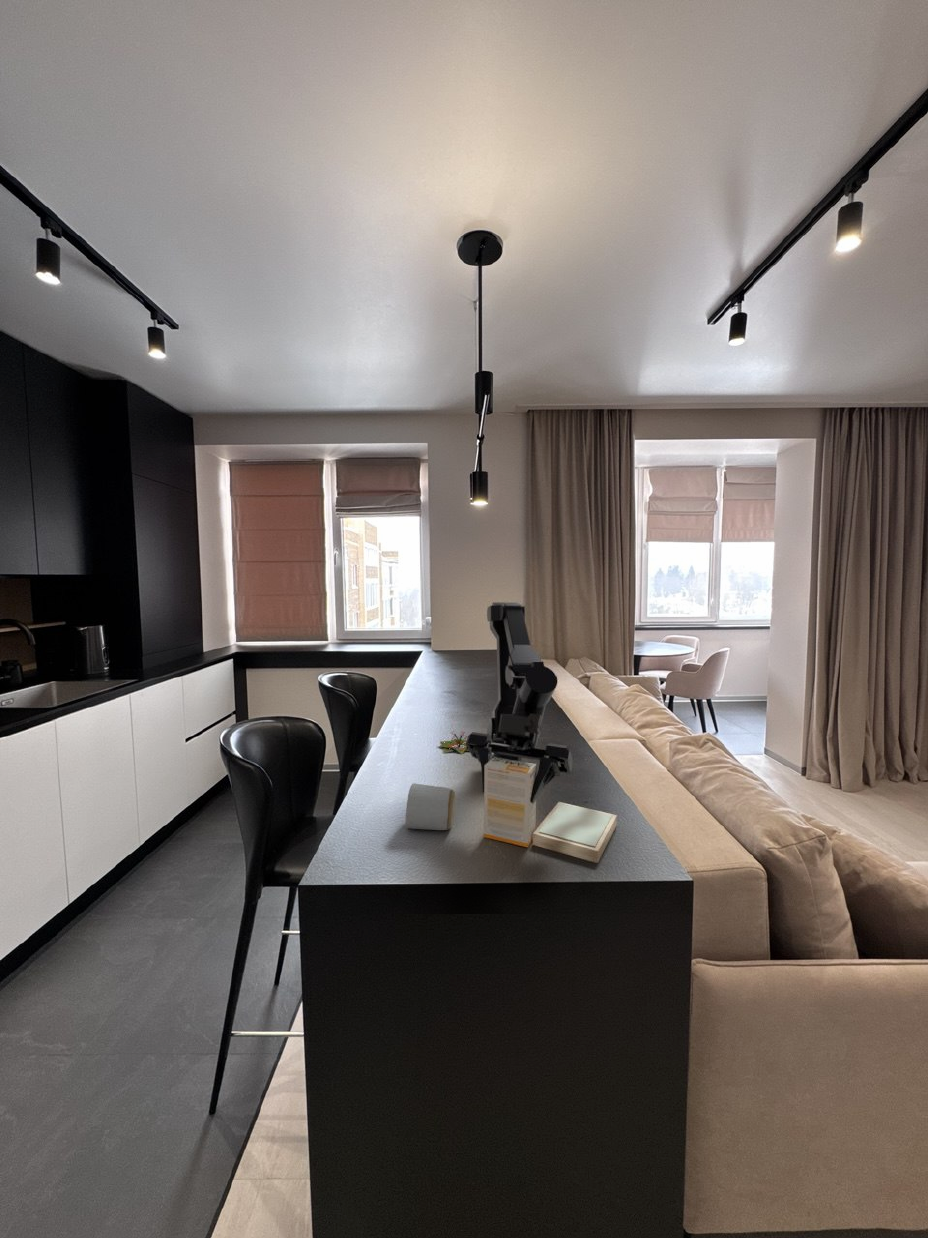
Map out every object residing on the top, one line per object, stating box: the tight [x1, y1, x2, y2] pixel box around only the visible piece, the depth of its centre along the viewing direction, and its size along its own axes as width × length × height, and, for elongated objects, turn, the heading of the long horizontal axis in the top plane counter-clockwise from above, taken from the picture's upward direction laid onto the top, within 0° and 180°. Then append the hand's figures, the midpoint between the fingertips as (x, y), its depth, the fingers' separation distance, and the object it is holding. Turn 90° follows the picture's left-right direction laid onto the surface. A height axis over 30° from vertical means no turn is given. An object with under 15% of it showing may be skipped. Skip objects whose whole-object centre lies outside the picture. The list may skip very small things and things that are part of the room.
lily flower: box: [438, 731, 470, 755], centre depth 135 cm, size 12×12×5 cm
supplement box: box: [483, 757, 538, 848], centre depth 89 cm, size 8×5×13 cm, turn 65°
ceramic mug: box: [405, 782, 456, 831], centre depth 94 cm, size 11×8×8 cm
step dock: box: [532, 801, 618, 864], centre depth 90 cm, size 11×14×2 cm
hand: (507, 797), depth 87 cm, fingers closed on supplement box, 8 cm apart
